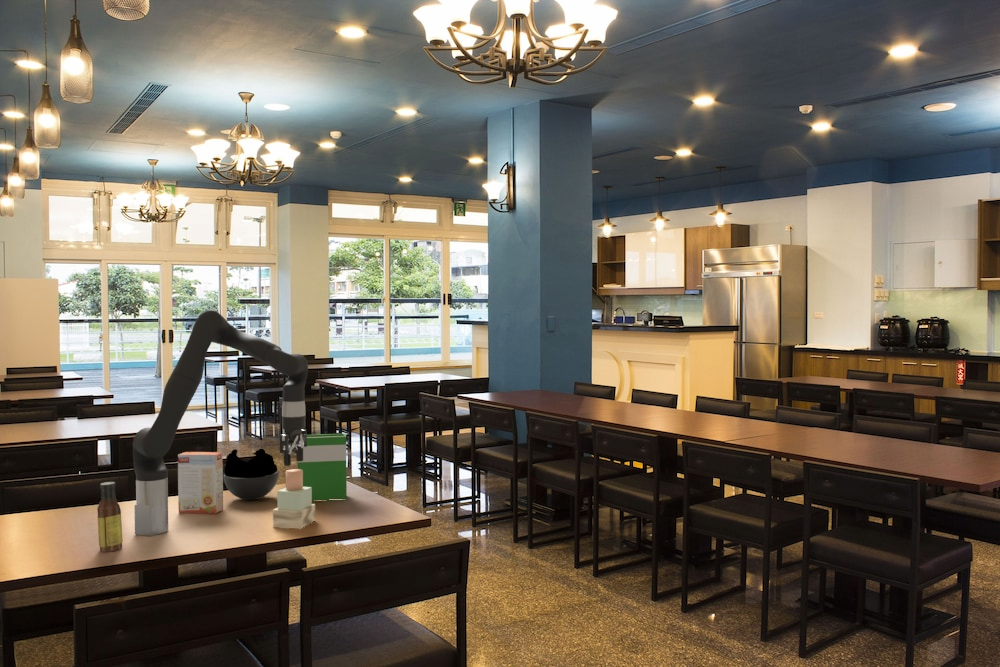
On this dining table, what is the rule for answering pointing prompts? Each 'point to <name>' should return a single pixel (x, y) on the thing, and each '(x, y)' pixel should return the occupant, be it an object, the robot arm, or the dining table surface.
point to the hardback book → (325, 466)
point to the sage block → (294, 499)
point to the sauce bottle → (109, 519)
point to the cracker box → (200, 482)
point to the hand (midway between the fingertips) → (293, 463)
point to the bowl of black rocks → (250, 475)
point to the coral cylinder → (294, 479)
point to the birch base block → (293, 517)
